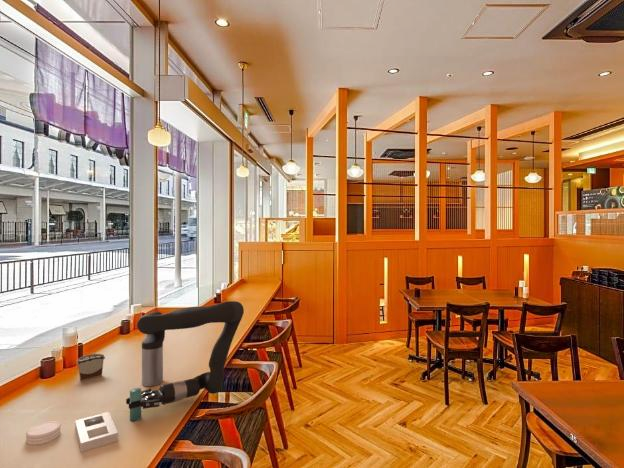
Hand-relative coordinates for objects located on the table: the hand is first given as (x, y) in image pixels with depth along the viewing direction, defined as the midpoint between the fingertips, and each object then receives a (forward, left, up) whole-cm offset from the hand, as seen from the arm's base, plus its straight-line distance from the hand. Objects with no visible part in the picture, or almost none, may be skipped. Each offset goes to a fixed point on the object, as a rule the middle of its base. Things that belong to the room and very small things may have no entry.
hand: (127, 403), depth 146 cm
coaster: (-5, -26, -7) cm, 28 cm away
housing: (+4, -11, -7) cm, 14 cm away
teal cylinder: (0, +3, -7) cm, 7 cm away
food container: (-57, -6, -7) cm, 58 cm away
